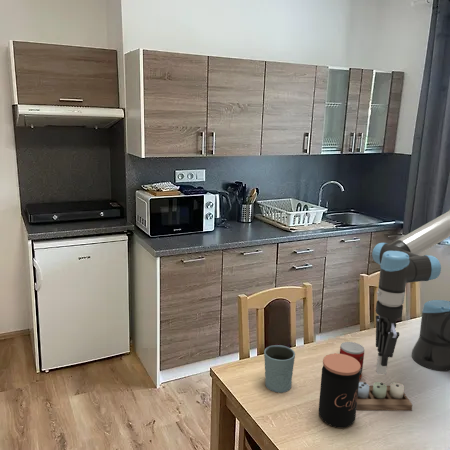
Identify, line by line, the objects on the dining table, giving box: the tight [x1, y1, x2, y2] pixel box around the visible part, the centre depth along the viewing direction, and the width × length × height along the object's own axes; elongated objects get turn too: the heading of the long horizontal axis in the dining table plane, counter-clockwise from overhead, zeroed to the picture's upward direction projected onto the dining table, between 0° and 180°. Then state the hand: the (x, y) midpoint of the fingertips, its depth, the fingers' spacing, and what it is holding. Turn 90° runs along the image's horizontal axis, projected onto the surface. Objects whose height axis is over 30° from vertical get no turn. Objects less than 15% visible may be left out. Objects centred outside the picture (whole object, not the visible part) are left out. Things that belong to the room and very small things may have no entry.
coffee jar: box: [318, 353, 361, 429], centre depth 129 cm, size 11×11×18 cm
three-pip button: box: [358, 381, 370, 398], centre depth 139 cm, size 4×4×3 cm
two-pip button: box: [372, 381, 388, 399], centre depth 139 cm, size 4×4×3 cm
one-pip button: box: [389, 381, 405, 399], centre depth 139 cm, size 4×4×3 cm
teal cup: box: [263, 344, 296, 393], centre depth 145 cm, size 10×10×12 cm
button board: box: [356, 385, 413, 412], centre depth 139 cm, size 17×10×2 cm, turn 91°
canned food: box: [339, 341, 365, 381], centre depth 152 cm, size 8×8×11 cm
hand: (381, 372), depth 137 cm, fingers closed
